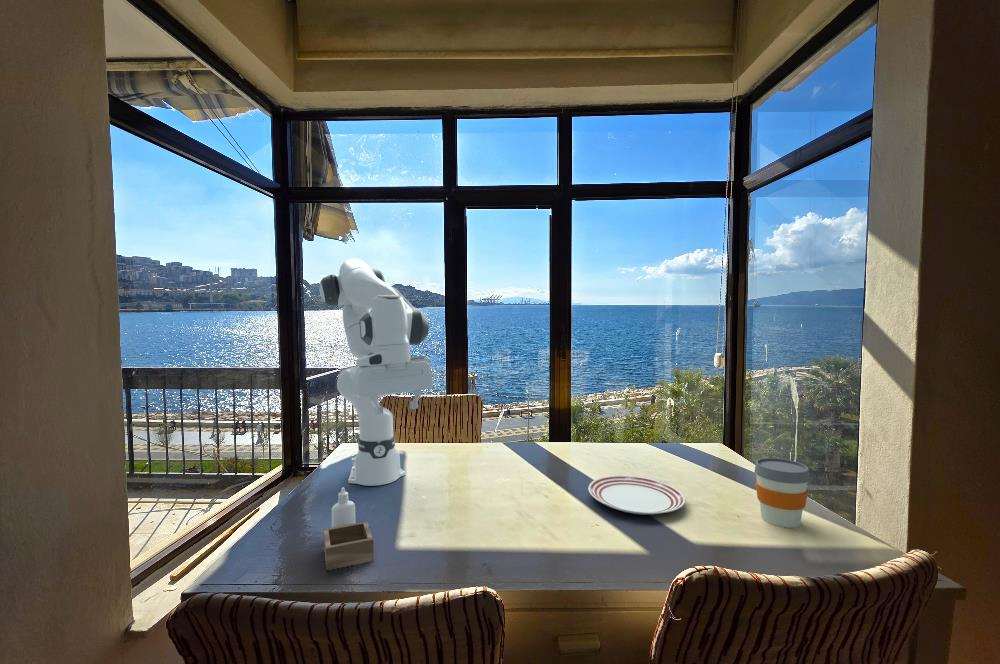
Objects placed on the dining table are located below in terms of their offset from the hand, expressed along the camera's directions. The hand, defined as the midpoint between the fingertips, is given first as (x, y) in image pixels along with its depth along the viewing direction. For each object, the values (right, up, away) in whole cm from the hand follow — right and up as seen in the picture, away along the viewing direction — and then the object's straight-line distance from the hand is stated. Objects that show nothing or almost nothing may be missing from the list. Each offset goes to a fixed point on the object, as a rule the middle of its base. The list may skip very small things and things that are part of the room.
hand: (397, 411), depth 117 cm
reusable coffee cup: (+101, -31, +7) cm, 106 cm away
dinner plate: (+66, -31, +20) cm, 76 cm away
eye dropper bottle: (-14, -32, 0) cm, 34 cm away
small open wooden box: (-9, -32, -10) cm, 34 cm away
